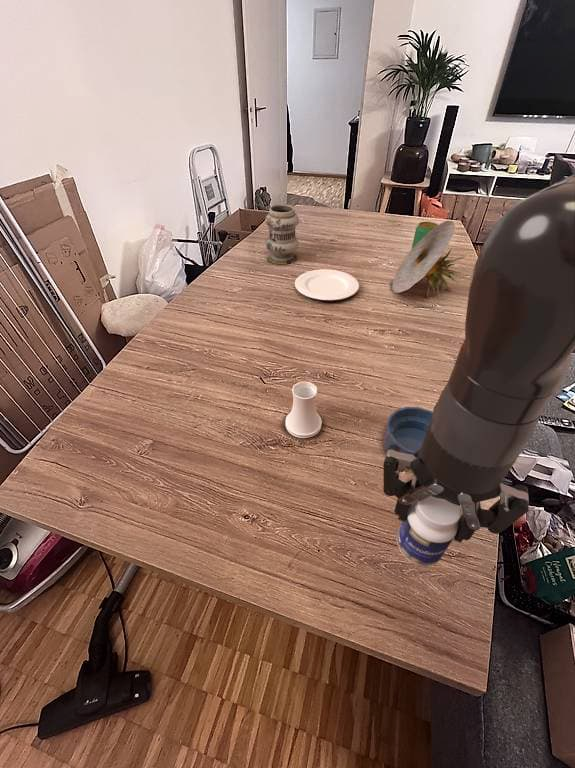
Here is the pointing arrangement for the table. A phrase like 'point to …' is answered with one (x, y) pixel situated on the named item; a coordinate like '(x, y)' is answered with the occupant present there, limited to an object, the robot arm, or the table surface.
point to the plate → (326, 285)
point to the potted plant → (427, 260)
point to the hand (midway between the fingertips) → (429, 523)
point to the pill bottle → (428, 530)
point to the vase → (303, 411)
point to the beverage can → (422, 231)
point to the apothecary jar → (282, 233)
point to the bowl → (407, 429)
